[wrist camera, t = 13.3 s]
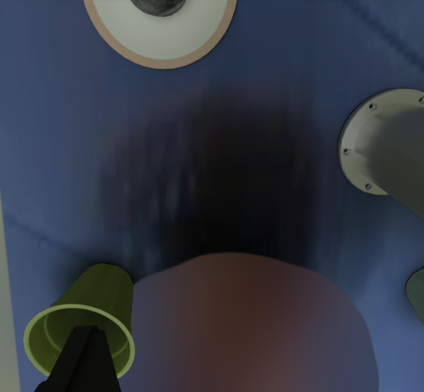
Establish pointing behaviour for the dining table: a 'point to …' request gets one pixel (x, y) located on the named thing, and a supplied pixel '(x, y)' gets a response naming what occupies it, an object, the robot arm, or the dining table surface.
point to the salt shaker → (159, 6)
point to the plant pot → (86, 318)
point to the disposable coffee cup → (417, 293)
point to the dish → (161, 30)
